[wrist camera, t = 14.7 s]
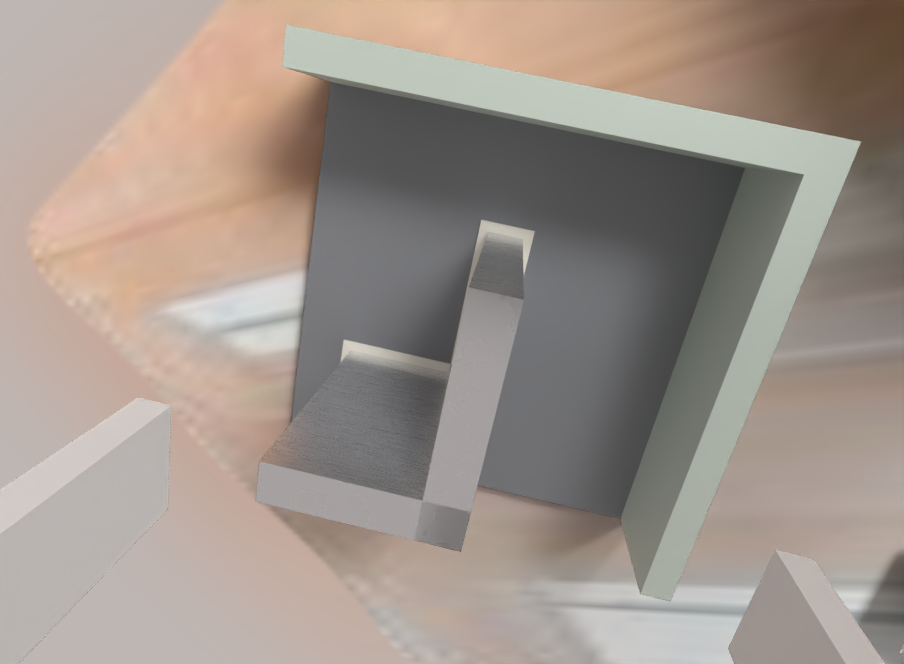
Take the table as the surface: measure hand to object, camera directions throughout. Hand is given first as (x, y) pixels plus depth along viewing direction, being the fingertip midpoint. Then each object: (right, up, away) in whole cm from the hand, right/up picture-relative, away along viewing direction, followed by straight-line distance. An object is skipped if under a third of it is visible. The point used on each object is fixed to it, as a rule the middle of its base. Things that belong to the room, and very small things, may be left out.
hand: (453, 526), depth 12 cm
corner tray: (+3, +6, +19) cm, 20 cm away
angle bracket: (-1, +5, +19) cm, 20 cm away
